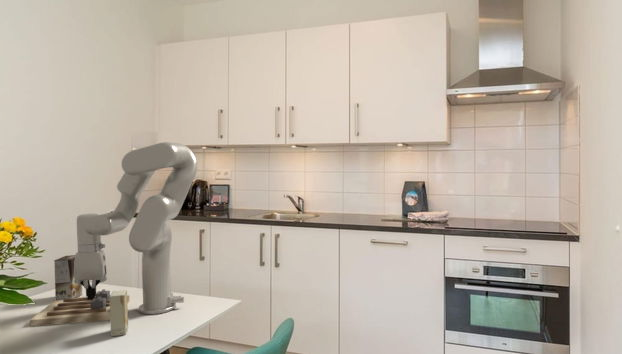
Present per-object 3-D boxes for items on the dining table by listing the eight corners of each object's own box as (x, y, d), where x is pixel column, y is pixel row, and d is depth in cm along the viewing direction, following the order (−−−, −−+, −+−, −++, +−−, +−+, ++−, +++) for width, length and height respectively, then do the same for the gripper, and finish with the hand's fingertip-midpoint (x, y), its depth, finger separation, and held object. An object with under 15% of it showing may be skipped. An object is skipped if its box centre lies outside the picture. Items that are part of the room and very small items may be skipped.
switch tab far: (110, 298, 159) (109, 288, 159) (107, 301, 155) (107, 291, 155) (98, 299, 158) (98, 289, 158) (95, 302, 154) (95, 292, 154)
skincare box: (126, 335, 130) (124, 295, 130) (110, 337, 129) (109, 296, 128) (128, 327, 136) (127, 289, 136) (113, 329, 135) (112, 290, 135)
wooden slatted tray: (129, 300, 163) (129, 292, 163) (115, 319, 143) (115, 310, 143) (54, 306, 158) (54, 298, 158) (30, 326, 139) (29, 317, 138)
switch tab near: (106, 306, 150) (105, 296, 150) (103, 309, 147) (102, 299, 146) (93, 307, 149) (93, 296, 149) (90, 310, 146) (90, 300, 146)
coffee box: (72, 301, 163) (71, 259, 163) (55, 302, 163) (53, 260, 162) (82, 294, 172) (81, 254, 172) (66, 295, 172) (64, 255, 171)
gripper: (114, 245, 160) (115, 293, 161) (70, 247, 157) (72, 296, 158) (108, 248, 153) (110, 299, 154) (63, 251, 150) (65, 303, 151)
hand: (91, 298), depth 156 cm, fingers closed
